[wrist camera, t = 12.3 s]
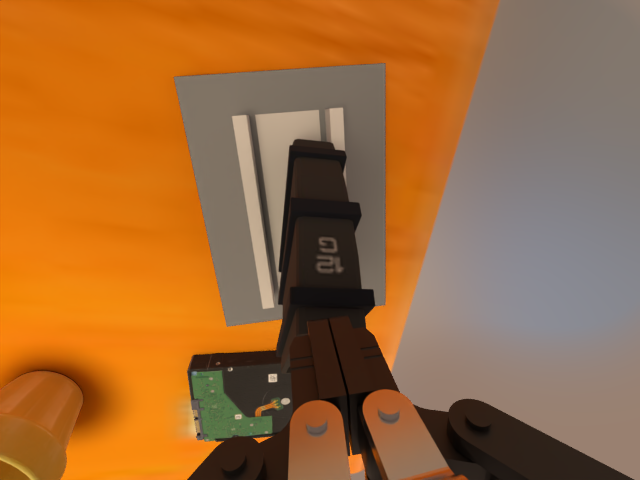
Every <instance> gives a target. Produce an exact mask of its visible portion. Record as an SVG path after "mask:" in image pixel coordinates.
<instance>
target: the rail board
mask: <svg viewBox="0 0 640 480" xmlns="http://www.w3.org/2000/svg"><path fill="white" fill-rule="evenodd" d="M174 80H175V85H176V90H177V94H178V99H179V104H180V109H181V113H182V118H183V123H184V127H185V132H186V137H187V141H188V146H189V151H190V156H191V160H192V165H193V170H194V174H195V179H196V184H197V188H198V193H199V198H200V203H201V207H202V212H203V217H204V221H205V226H206V231H207V235H208V240H209V245H210V250H211V254H212V259H213V264H214V268H215V273H216V278H217V282H218V287H219V292H220V297H221V301H222V306H223V311H224V315H225V320H226V325H227V327H228V326H235V325H242V324H250V323H257V322H264V321H271V320H279V319H282V318H283V305H278V295H279V287H280V279H281V272H279V257H280V246H281V235H282V223H283V212H284V201H285V189H286V178H287V167H288V156H289V146H290V145H293V141H294V140H295V139H305V140H314V141H324V142H331V143H333V144H334V147H335V150H344V151H345V153H346V156H347V159H346V164H345V168H344V173H343V175H344V179H345V183H346V188H347V193H348V198H349V202H358V203H360V209H361V214H362V217H361V219H360V222H359V224H358V226H357V229H356V231H355V238H356V244H357V250H358V255H359V265H360V275H361V284H362V289H373V290H374V298H375V306H381V305H385V63H380V64H364V65H349V66H334V67H318V68H303V69H287V70H272V71H257V72H241V73H226V74H211V75H195V76H180V77H174Z"/></svg>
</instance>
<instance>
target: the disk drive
mask: <svg viewBox="0 0 640 480" xmlns="http://www.w3.org/2000/svg"><path fill="white" fill-rule="evenodd" d="M187 373H188V380H189V387H190V395H191V405H192V410H193V413H194V418H195V419H194V420H195V426H196V432H197V436H196V438H197V440H203V439H204V441H207V442H208V441H214V440H215V441H216V442H220V441H226V440H228V439H230V438H233V437H237V436H247V437H251V438H260V437H271V436H274V435H276V434H278V433H279V432H280V431H281V430H282V429H283V428H284V427H285V426H286V425H287V424H288V422H289V420H290V418H291V416H292V412H293V402H292V385H291V374H282V373H281V357H276V350H275V351H258V352H257V351H256V352H243V353H215V354H205V355H193V356H192V359H191V362H190V364H189V368H188V371H187Z"/></svg>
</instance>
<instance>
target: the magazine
mask: <svg viewBox="0 0 640 480" xmlns="http://www.w3.org/2000/svg"><path fill="white" fill-rule="evenodd" d="M346 159H347V156H346V153H345V151H344V150H335V147H334V144H333V143H331V142H324V141H314V140H305V139H295V140H294V141H293V145H290V146H289V156H288V167H287V178H286V189H285V201H284V212H283V223H282V235H281V246H280V257H279V272H281V279H280V287H279V295H278V305H283V318H282V325H281V329H280V334H279V338H278V342H277V349H276V357H281V373H282V374H291V369H290V352H289V347H290V345H291V343H292V341H293V339H294V337H299V336H306V335H308V325H307V321H310V320H317V319H325V318H327V321H328V318H331V317H338V316H346V315H348V317H349V319H350V322H351V324H352V327H353V329H354V328H361V327H365V328H366V323H365V316H366V315H367V314H368V313H369V312H370V311H371V310H372V309H373V308H374V307H375V298H374V290H373V289H362V284H361V275H360V265H359V255H358V250H357V244H356V238H355V231H356V229H357V226H358V224H359V222H360V219H361V217H362V214H361V209H360V203H358V202H349V198H348V193H347V188H346V183H345V179H344V175H343V173H344V168H345V164H346Z"/></svg>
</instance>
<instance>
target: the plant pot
mask: <svg viewBox="0 0 640 480" xmlns="http://www.w3.org/2000/svg"><path fill="white" fill-rule="evenodd" d="M82 405H83V394H82V391H81V389H80V388H79V386H78V385H77V384H76V383H75V382H74V381H73V380H71V379H70V378H68V377H66V376H64V375H61V374H59V373H55V372H50V371H34V372H30V373H26V374H23V375H21V376H19V377H18V378H16V379H15V380H13V381H12V382H10V383H9V384H7V385H6V386H5V387H3V388H2V389H0V480H60V479H61V477H62V475H63V473H64V471H65V468H66V463H67V457H66V452H65V451H66V448H67V445H68V442H69V440H70V437H71V434H72V431H73V429H74V426H75V423H76V420H77V418H78V415H79V412H80V410H81V407H82Z"/></svg>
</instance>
